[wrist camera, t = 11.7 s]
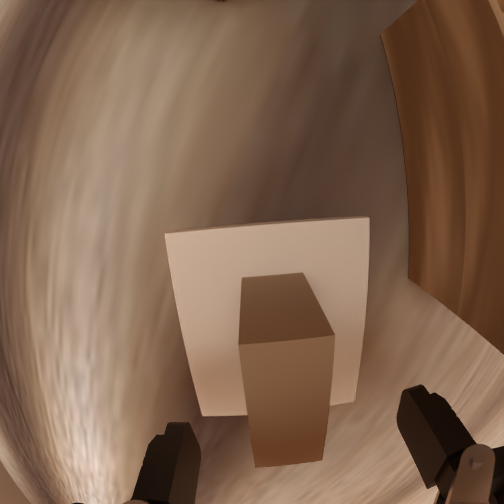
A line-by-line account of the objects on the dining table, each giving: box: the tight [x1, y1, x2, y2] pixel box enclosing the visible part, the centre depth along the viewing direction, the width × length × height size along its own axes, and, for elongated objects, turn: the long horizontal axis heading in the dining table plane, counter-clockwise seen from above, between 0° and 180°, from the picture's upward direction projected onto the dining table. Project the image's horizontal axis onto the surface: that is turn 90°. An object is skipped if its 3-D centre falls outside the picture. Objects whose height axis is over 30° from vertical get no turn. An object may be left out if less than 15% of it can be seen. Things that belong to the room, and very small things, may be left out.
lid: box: [165, 216, 369, 467], centre depth 13 cm, size 10×12×7 cm
